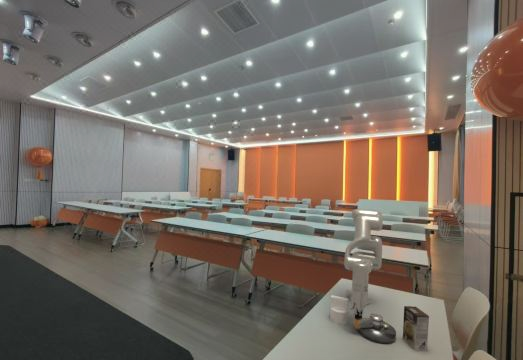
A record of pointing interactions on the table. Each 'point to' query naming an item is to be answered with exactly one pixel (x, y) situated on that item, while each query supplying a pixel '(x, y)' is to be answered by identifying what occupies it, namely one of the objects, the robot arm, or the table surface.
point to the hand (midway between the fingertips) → (358, 322)
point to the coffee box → (415, 328)
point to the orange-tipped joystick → (369, 322)
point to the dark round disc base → (379, 333)
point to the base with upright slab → (339, 309)
